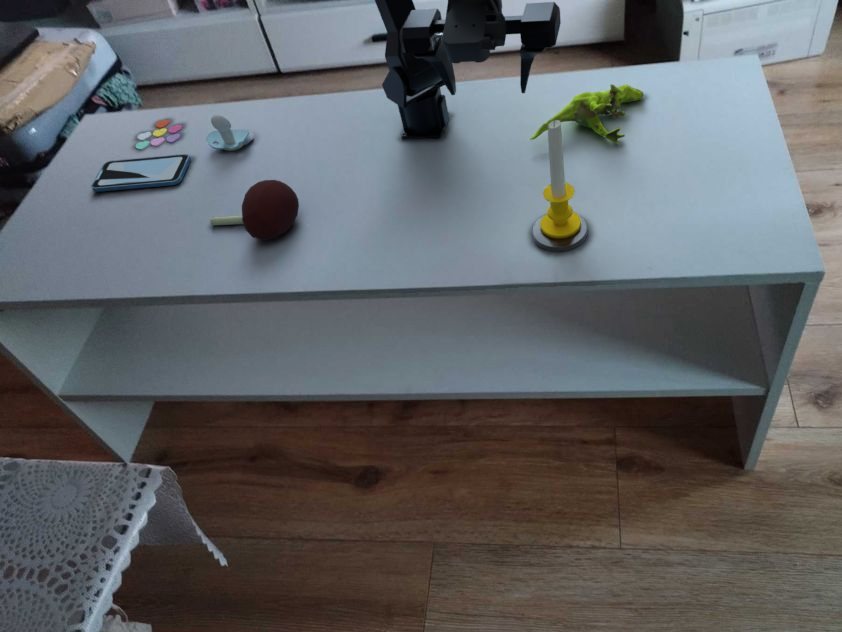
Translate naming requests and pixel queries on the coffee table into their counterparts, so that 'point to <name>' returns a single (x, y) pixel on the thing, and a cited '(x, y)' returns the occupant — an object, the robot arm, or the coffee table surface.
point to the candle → (558, 191)
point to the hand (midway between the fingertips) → (488, 92)
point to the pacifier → (227, 135)
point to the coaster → (562, 243)
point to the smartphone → (141, 172)
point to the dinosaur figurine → (596, 109)
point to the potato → (269, 209)
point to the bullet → (226, 220)
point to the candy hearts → (159, 135)
